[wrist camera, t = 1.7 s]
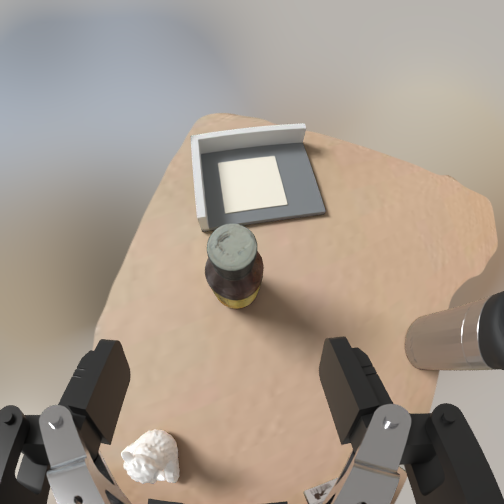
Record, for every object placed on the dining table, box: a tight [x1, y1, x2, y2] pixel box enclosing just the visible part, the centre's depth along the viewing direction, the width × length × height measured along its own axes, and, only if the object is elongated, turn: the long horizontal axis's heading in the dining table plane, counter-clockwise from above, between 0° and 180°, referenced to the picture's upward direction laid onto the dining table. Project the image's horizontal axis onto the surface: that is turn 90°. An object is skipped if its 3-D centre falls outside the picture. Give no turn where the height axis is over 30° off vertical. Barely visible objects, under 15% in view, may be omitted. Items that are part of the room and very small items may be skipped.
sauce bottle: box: [205, 223, 264, 308], centre depth 32 cm, size 6×6×20 cm
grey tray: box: [191, 124, 326, 232], centre depth 45 cm, size 20×16×5 cm
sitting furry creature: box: [121, 429, 180, 484], centre depth 27 cm, size 10×9×12 cm
